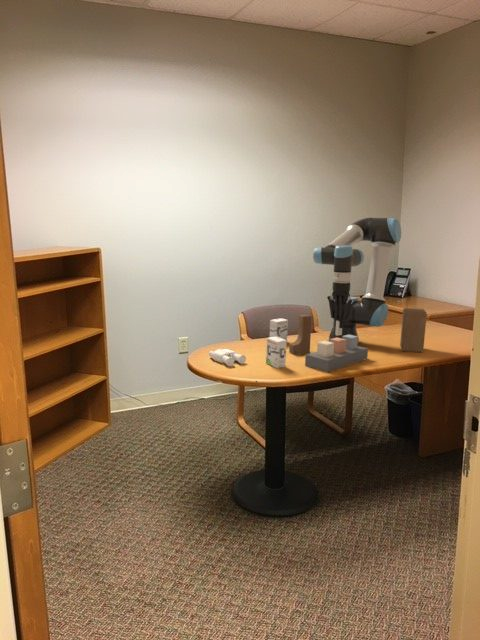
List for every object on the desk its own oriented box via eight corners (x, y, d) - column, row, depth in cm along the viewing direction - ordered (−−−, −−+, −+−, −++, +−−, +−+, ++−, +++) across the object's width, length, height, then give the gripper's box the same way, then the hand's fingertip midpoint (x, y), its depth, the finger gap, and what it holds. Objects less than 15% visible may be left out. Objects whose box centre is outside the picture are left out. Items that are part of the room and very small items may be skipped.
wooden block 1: (293, 354, 238) (294, 317, 234) (288, 352, 242) (290, 315, 239) (310, 353, 242) (311, 316, 238) (305, 350, 246) (307, 314, 242)
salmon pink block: (329, 354, 227) (330, 339, 226) (336, 352, 230) (337, 337, 229) (338, 356, 224) (339, 341, 222) (345, 354, 227) (346, 339, 225)
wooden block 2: (423, 353, 245) (427, 312, 241) (401, 351, 247) (405, 311, 243) (420, 347, 255) (424, 308, 251) (399, 346, 257) (403, 307, 252)
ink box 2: (265, 363, 224) (266, 337, 222) (274, 361, 227) (275, 336, 225) (277, 368, 217) (277, 341, 215) (286, 366, 220) (287, 340, 217)
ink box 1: (275, 344, 256) (276, 321, 254) (268, 342, 260) (269, 320, 257) (287, 342, 262) (288, 319, 259) (280, 340, 265) (281, 318, 263)
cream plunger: (316, 358, 221) (317, 342, 220) (323, 356, 224) (324, 340, 223) (326, 360, 217) (326, 344, 216) (333, 358, 221) (334, 342, 219)
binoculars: (226, 367, 218) (227, 357, 217) (206, 358, 231) (206, 348, 230) (246, 363, 224) (246, 353, 223) (225, 355, 237) (225, 345, 236)
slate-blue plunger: (341, 350, 233) (342, 336, 232) (347, 349, 236) (348, 334, 235) (350, 353, 230) (351, 338, 228) (356, 351, 233) (357, 336, 231)
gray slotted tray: (305, 365, 222) (305, 354, 221) (345, 353, 242) (346, 343, 241) (327, 372, 213) (327, 360, 212) (367, 358, 234) (368, 348, 232)
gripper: (324, 280, 222) (321, 333, 227) (349, 284, 213) (345, 338, 218) (334, 279, 227) (331, 331, 232) (359, 282, 218) (355, 336, 223)
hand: (338, 334), depth 225 cm, fingers closed
